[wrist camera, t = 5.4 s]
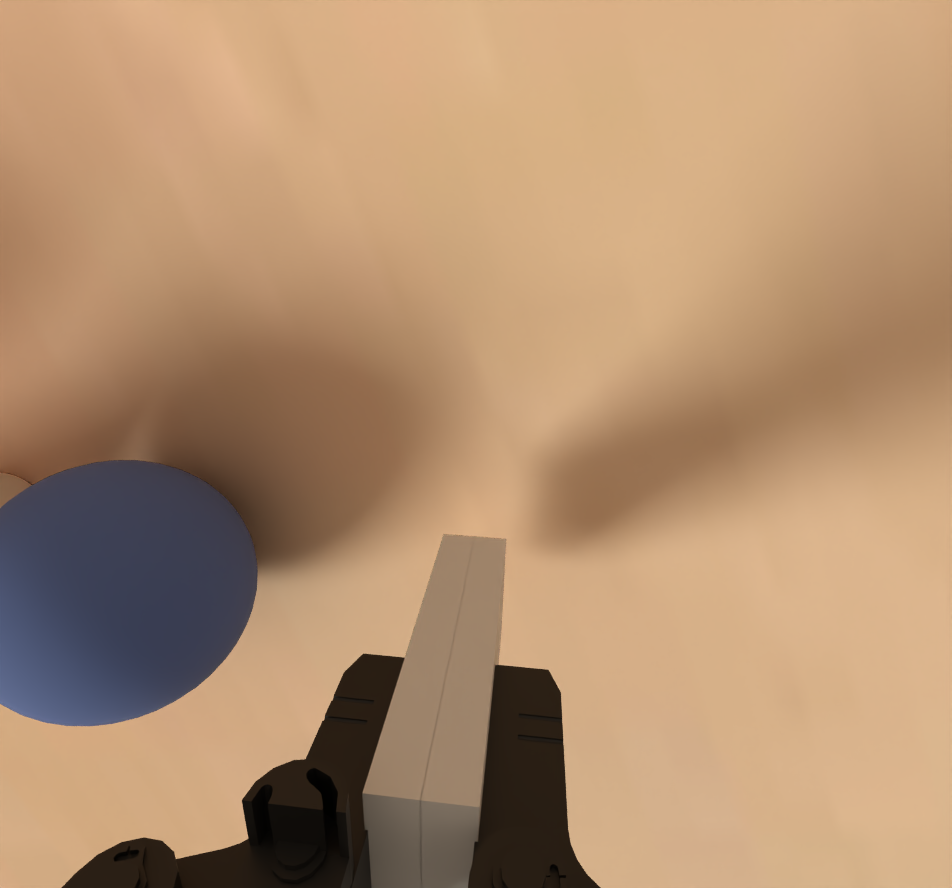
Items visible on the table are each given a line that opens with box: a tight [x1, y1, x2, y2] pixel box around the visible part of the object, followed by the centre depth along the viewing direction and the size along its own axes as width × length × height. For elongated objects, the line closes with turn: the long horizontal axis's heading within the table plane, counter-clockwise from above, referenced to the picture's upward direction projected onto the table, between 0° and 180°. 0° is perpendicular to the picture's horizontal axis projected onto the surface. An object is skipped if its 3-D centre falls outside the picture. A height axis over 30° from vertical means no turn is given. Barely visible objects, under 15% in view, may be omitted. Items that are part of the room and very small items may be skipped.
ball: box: [0, 460, 258, 726], centre depth 13 cm, size 6×6×6 cm
